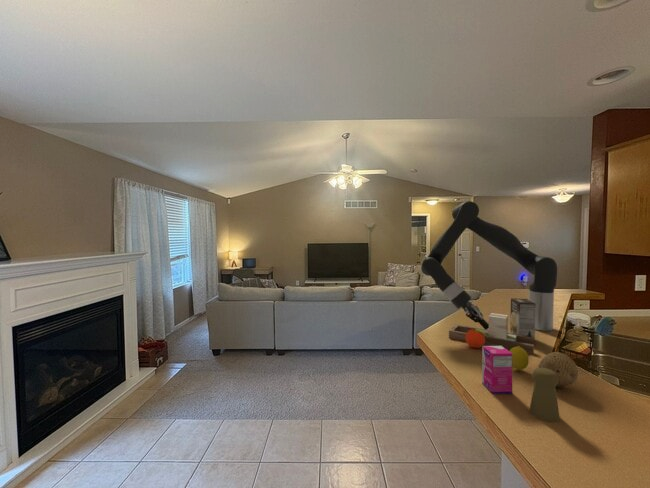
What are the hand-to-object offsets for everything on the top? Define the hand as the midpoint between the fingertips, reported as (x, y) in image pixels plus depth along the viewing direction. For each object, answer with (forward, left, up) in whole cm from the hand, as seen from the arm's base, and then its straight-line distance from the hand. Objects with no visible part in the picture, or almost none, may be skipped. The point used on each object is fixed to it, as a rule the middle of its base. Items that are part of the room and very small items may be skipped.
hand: (488, 328), depth 124 cm
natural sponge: (+31, +22, -5) cm, 38 cm away
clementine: (+11, -2, -5) cm, 12 cm away
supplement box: (+42, +8, -5) cm, 43 cm away
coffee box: (-11, +11, -5) cm, 17 cm away
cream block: (0, +4, -2) cm, 4 cm away
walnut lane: (0, +1, -5) cm, 5 cm away
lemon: (+25, +12, -5) cm, 28 cm away
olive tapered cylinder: (+49, +19, -5) cm, 52 cm away
